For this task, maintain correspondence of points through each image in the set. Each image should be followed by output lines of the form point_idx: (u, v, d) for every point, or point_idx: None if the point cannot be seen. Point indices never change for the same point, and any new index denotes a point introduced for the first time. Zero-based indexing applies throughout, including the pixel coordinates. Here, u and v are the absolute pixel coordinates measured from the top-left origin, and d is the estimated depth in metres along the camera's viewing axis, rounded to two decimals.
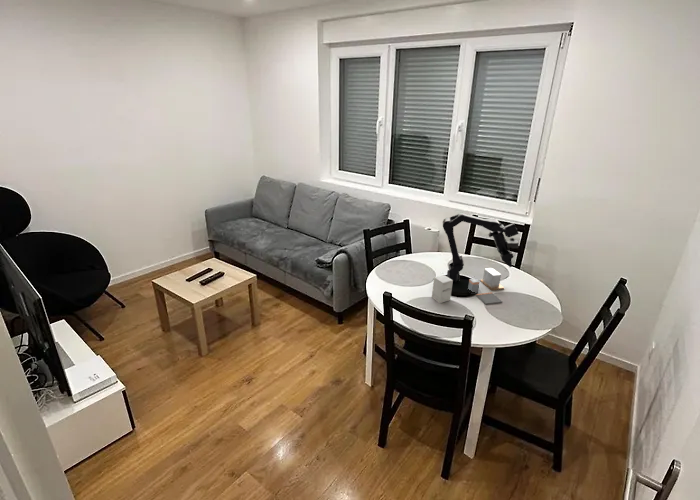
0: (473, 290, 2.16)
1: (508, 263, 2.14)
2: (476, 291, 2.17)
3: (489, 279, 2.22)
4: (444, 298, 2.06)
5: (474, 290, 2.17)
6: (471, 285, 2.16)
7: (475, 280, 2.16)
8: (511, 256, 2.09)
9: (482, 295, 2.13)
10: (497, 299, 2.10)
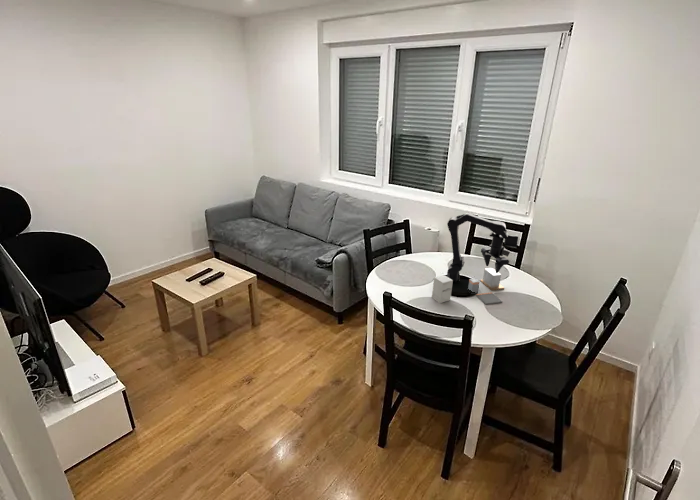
0: (473, 290, 2.16)
1: (497, 269, 2.13)
2: (476, 291, 2.17)
3: (489, 279, 2.22)
4: (444, 298, 2.06)
5: (474, 290, 2.17)
6: (471, 285, 2.16)
7: (475, 280, 2.16)
8: (507, 263, 2.08)
9: (482, 295, 2.13)
10: (497, 299, 2.10)
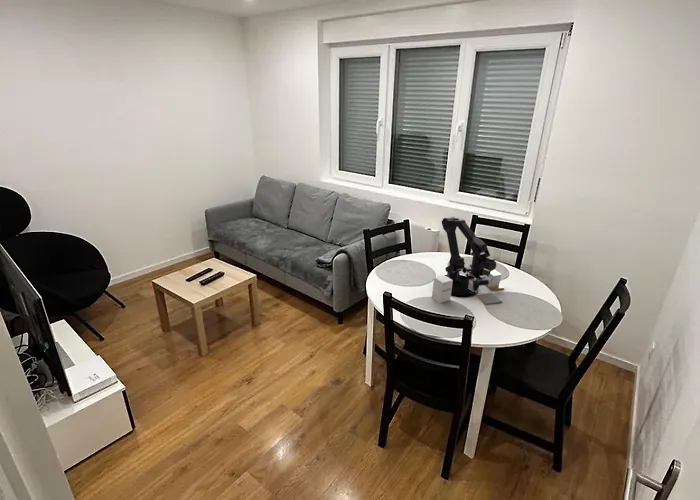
0: (473, 290, 2.16)
1: (475, 287, 2.14)
2: (476, 291, 2.17)
3: (489, 279, 2.22)
4: (444, 298, 2.06)
5: None
6: (471, 285, 2.16)
7: (475, 280, 2.16)
8: (487, 283, 2.07)
9: (482, 295, 2.13)
10: (497, 299, 2.10)
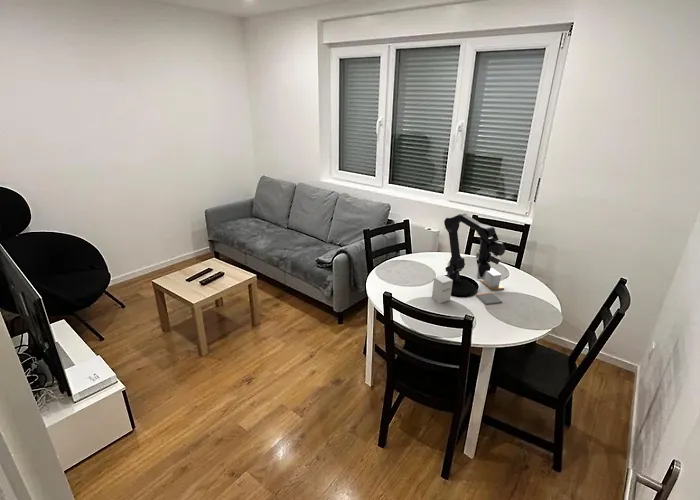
0: (479, 276, 2.10)
1: (481, 272, 2.08)
2: (483, 278, 2.10)
3: (489, 279, 2.22)
4: (444, 298, 2.06)
5: None
6: (478, 270, 2.10)
7: None
8: (488, 269, 2.00)
9: (482, 295, 2.13)
10: (497, 299, 2.10)
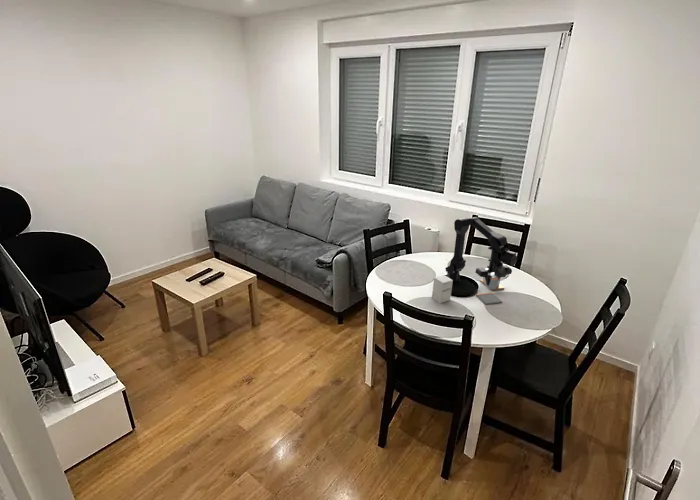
0: None
1: (486, 280, 2.06)
2: (488, 287, 2.06)
3: None
4: (444, 298, 2.06)
5: None
6: None
7: (493, 276, 2.05)
8: (480, 274, 2.00)
9: (482, 295, 2.13)
10: (497, 299, 2.10)
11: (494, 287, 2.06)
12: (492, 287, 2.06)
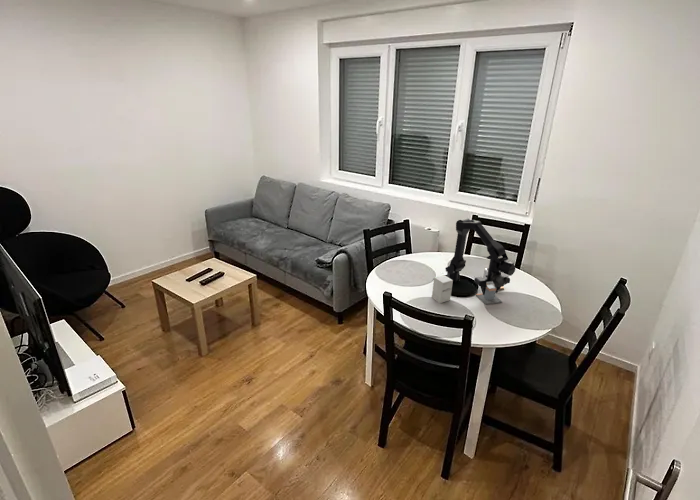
0: (485, 294, 2.10)
1: (481, 289, 2.08)
2: (487, 297, 2.09)
3: None
4: (444, 298, 2.06)
5: (485, 295, 2.10)
6: None
7: (491, 287, 2.07)
8: (478, 284, 2.03)
9: (482, 295, 2.13)
10: (497, 299, 2.10)
11: (492, 297, 2.09)
12: (490, 298, 2.08)
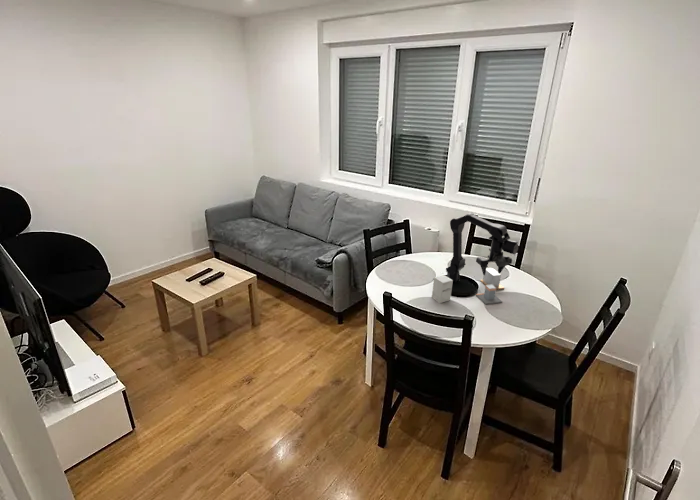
0: (485, 294, 2.10)
1: (482, 269, 2.09)
2: (487, 297, 2.09)
3: (489, 279, 2.22)
4: (444, 298, 2.06)
5: (485, 295, 2.10)
6: None
7: (491, 287, 2.07)
8: (480, 263, 2.04)
9: (482, 295, 2.13)
10: (497, 299, 2.10)
11: (492, 297, 2.09)
12: (490, 298, 2.08)
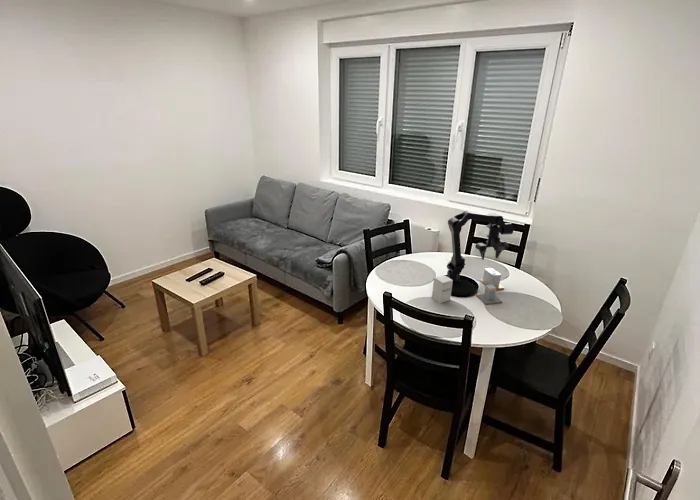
0: (485, 294, 2.10)
1: (481, 254, 2.27)
2: (487, 297, 2.09)
3: (489, 279, 2.22)
4: (444, 298, 2.06)
5: (485, 295, 2.10)
6: None
7: (491, 287, 2.07)
8: (479, 249, 2.22)
9: (482, 295, 2.13)
10: (497, 299, 2.10)
11: (492, 297, 2.09)
12: (490, 298, 2.08)
